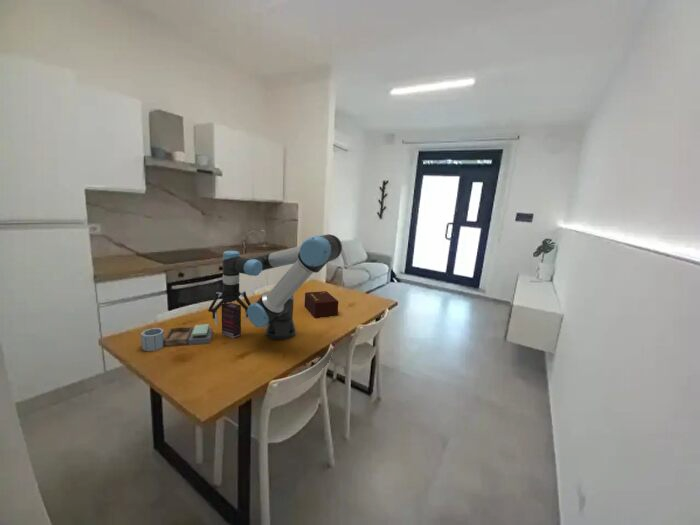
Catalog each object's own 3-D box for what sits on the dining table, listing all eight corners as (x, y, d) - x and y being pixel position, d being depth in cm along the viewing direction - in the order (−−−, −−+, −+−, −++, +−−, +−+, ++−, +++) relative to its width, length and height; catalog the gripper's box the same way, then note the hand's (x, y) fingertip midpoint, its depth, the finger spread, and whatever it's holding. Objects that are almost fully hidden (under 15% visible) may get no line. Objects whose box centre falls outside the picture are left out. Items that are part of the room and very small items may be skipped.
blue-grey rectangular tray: (212, 332, 151) (212, 327, 150) (210, 343, 140) (209, 338, 139) (192, 333, 148) (192, 328, 147) (188, 344, 137) (188, 339, 136)
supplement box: (241, 334, 151) (241, 305, 147) (234, 338, 146) (233, 307, 143) (228, 330, 154) (228, 301, 151) (221, 334, 150) (220, 304, 147)
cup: (166, 341, 138) (165, 327, 137) (161, 350, 131) (160, 335, 129) (145, 343, 136) (144, 328, 134) (140, 351, 128) (139, 336, 127)
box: (339, 315, 186) (340, 300, 184) (314, 318, 179) (315, 302, 177) (327, 304, 204) (328, 290, 202) (304, 306, 197) (304, 292, 195)
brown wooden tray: (192, 332, 150) (192, 326, 149) (188, 344, 137) (187, 338, 136) (171, 333, 146) (170, 327, 146) (164, 346, 134) (163, 340, 133)
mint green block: (209, 330, 149) (208, 324, 149) (206, 339, 140) (206, 332, 139) (195, 331, 147) (195, 324, 147) (192, 340, 138) (192, 333, 137)
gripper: (257, 280, 152) (256, 319, 157) (203, 280, 144) (204, 321, 148) (258, 284, 146) (257, 325, 150) (201, 285, 137) (202, 328, 142)
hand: (231, 323), depth 149 cm, fingers open, 13 cm apart
